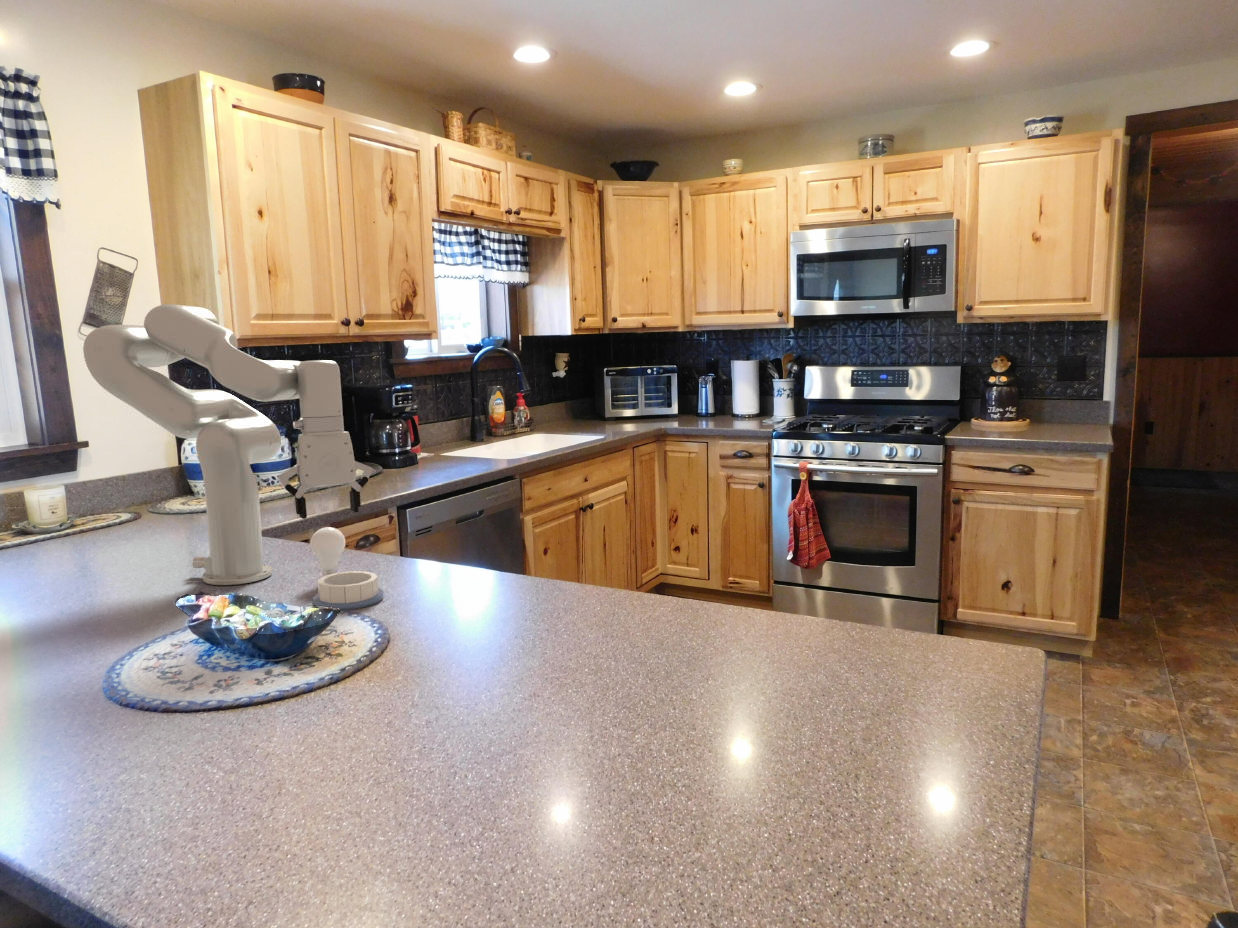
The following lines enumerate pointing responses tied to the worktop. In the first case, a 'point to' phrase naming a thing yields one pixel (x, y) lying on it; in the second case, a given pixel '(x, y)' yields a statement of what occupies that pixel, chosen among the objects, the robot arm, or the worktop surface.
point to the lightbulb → (328, 548)
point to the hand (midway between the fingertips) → (329, 514)
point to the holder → (348, 590)
